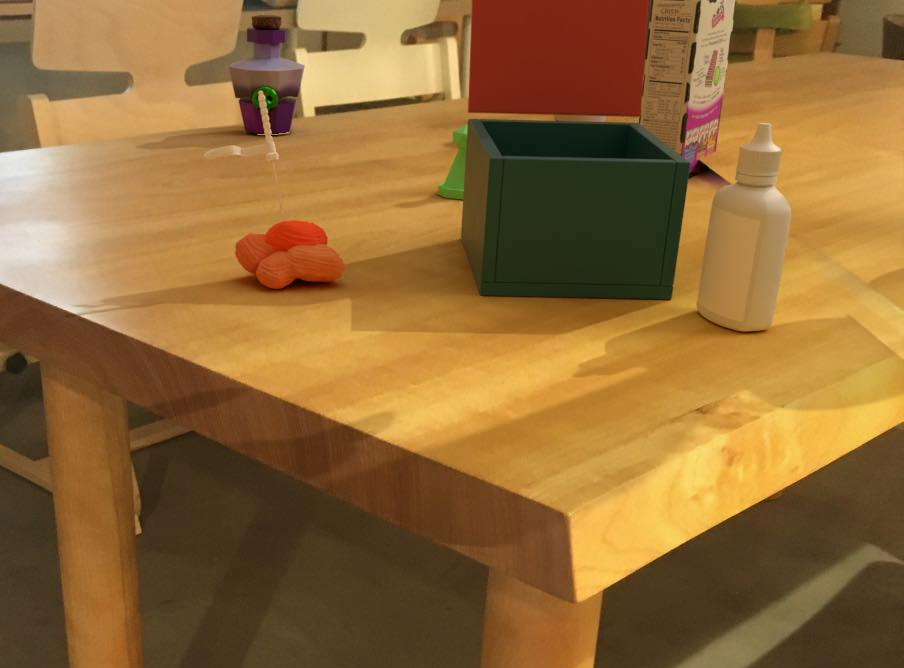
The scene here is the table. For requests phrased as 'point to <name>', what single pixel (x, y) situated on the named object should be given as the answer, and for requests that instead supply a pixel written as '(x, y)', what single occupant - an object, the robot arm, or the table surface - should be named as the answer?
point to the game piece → (456, 168)
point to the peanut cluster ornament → (282, 234)
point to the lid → (557, 57)
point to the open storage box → (572, 209)
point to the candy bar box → (686, 74)
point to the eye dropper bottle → (746, 241)
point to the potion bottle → (266, 78)
